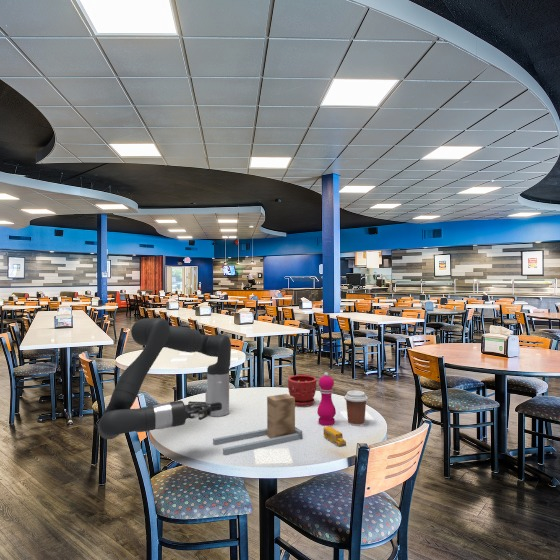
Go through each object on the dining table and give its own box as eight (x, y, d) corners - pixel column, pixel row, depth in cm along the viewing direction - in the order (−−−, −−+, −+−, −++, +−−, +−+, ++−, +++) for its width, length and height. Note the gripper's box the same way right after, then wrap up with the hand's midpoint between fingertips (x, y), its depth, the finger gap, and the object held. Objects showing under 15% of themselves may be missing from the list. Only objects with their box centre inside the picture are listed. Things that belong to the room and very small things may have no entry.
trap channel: (224, 456, 129) (224, 446, 129) (213, 444, 139) (213, 435, 139) (302, 439, 143) (302, 430, 143) (286, 430, 153) (286, 422, 153)
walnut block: (275, 441, 141) (275, 400, 141) (267, 435, 146) (267, 396, 146) (295, 437, 144) (294, 397, 145) (286, 432, 150) (286, 393, 150)
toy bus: (338, 447, 136) (338, 436, 136) (323, 438, 145) (323, 427, 145) (346, 446, 137) (346, 434, 138) (330, 436, 146) (330, 425, 146)
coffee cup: (343, 419, 165) (343, 389, 165) (366, 419, 164) (366, 389, 164) (345, 426, 156) (344, 395, 156) (369, 427, 155) (369, 395, 155)
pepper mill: (316, 420, 164) (316, 370, 164) (334, 420, 164) (334, 370, 164) (318, 426, 157) (317, 374, 157) (336, 426, 157) (336, 374, 157)
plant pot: (282, 404, 187) (282, 378, 187) (299, 398, 197) (299, 373, 197) (305, 409, 178) (304, 382, 178) (322, 403, 188) (322, 377, 188)
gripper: (173, 408, 121) (228, 399, 129) (163, 397, 132) (214, 389, 141) (173, 434, 121) (228, 423, 129) (163, 420, 132) (214, 411, 141)
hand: (220, 405), depth 135 cm, fingers closed
